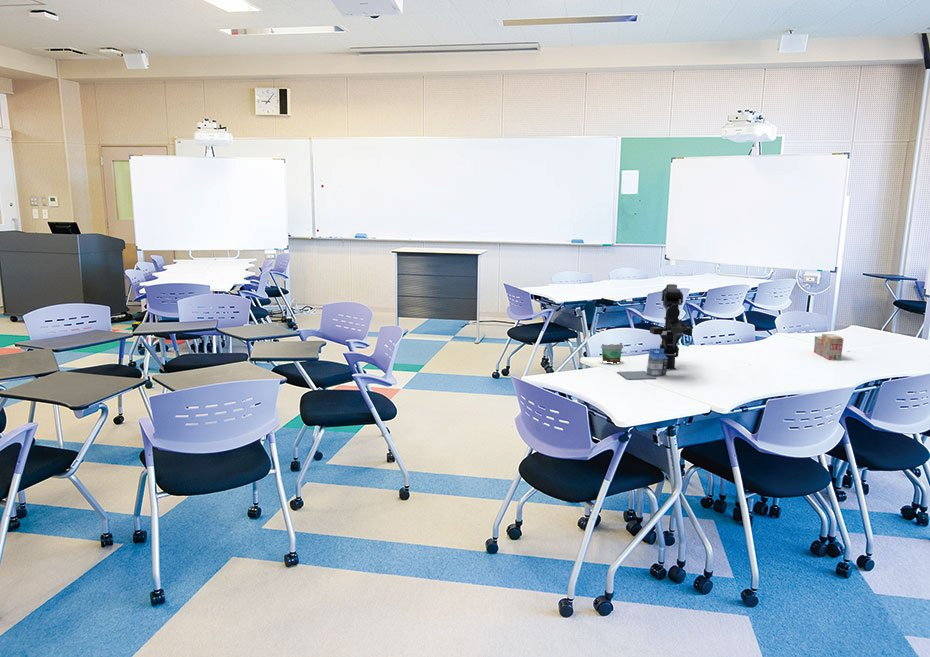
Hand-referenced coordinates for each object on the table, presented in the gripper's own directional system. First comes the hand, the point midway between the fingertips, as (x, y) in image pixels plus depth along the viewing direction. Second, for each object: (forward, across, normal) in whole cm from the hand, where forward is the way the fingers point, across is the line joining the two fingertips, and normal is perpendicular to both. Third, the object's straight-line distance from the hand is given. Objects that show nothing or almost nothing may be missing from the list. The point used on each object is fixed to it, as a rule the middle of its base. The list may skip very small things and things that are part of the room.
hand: (670, 348), depth 305 cm
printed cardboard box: (+13, +105, +34) cm, 111 cm away
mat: (+13, -16, 0) cm, 21 cm away
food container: (+13, -18, +27) cm, 35 cm away
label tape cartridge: (+13, -6, 0) cm, 14 cm away
